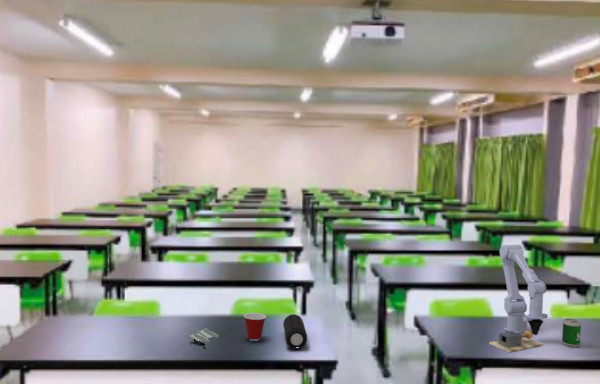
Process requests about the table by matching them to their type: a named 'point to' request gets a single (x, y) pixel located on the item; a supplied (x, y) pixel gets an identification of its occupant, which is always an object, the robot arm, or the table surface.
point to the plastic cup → (254, 324)
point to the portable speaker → (294, 331)
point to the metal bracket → (203, 335)
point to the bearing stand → (514, 342)
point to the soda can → (571, 333)
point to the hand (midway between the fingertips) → (534, 334)
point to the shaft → (527, 334)
